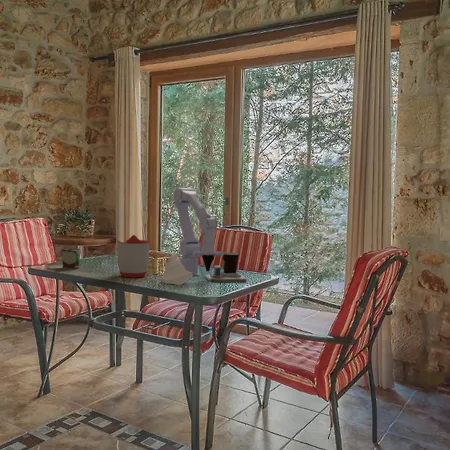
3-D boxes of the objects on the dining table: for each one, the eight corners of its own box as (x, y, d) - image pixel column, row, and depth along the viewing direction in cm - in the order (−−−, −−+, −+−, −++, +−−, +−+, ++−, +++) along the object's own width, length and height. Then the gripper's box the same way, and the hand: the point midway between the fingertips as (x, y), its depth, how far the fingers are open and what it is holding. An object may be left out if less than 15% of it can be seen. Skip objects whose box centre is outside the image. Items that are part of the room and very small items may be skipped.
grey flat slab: (209, 281, 236) (209, 276, 235) (204, 276, 247) (204, 272, 247) (246, 280, 239) (246, 276, 239) (240, 276, 251) (240, 272, 251)
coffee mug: (236, 274, 257) (237, 255, 256) (220, 273, 258) (220, 254, 258) (240, 271, 268) (241, 252, 267) (224, 270, 270) (225, 251, 269)
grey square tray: (211, 282, 233) (211, 279, 233) (205, 276, 249) (205, 273, 249) (246, 282, 236) (246, 279, 236) (237, 276, 252) (237, 273, 252)
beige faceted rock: (167, 289, 221) (159, 258, 220) (161, 286, 236) (154, 256, 235) (194, 281, 225) (186, 250, 224) (187, 278, 239) (179, 249, 238)
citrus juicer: (129, 271, 256) (129, 232, 254) (156, 275, 247) (156, 235, 245) (106, 275, 242) (107, 234, 241) (134, 280, 233) (135, 237, 232)
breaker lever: (213, 276, 240) (214, 266, 240) (212, 275, 243) (212, 265, 243) (222, 276, 241) (222, 266, 241) (220, 275, 244) (221, 265, 244)
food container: (86, 268, 263) (86, 249, 262) (77, 269, 258) (77, 250, 257) (70, 265, 269) (70, 247, 269) (60, 267, 264) (61, 248, 264)
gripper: (194, 243, 235) (193, 272, 236) (225, 243, 238) (224, 272, 239) (192, 241, 242) (191, 270, 243) (221, 242, 245) (221, 269, 246)
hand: (207, 271), depth 241 cm, fingers closed
